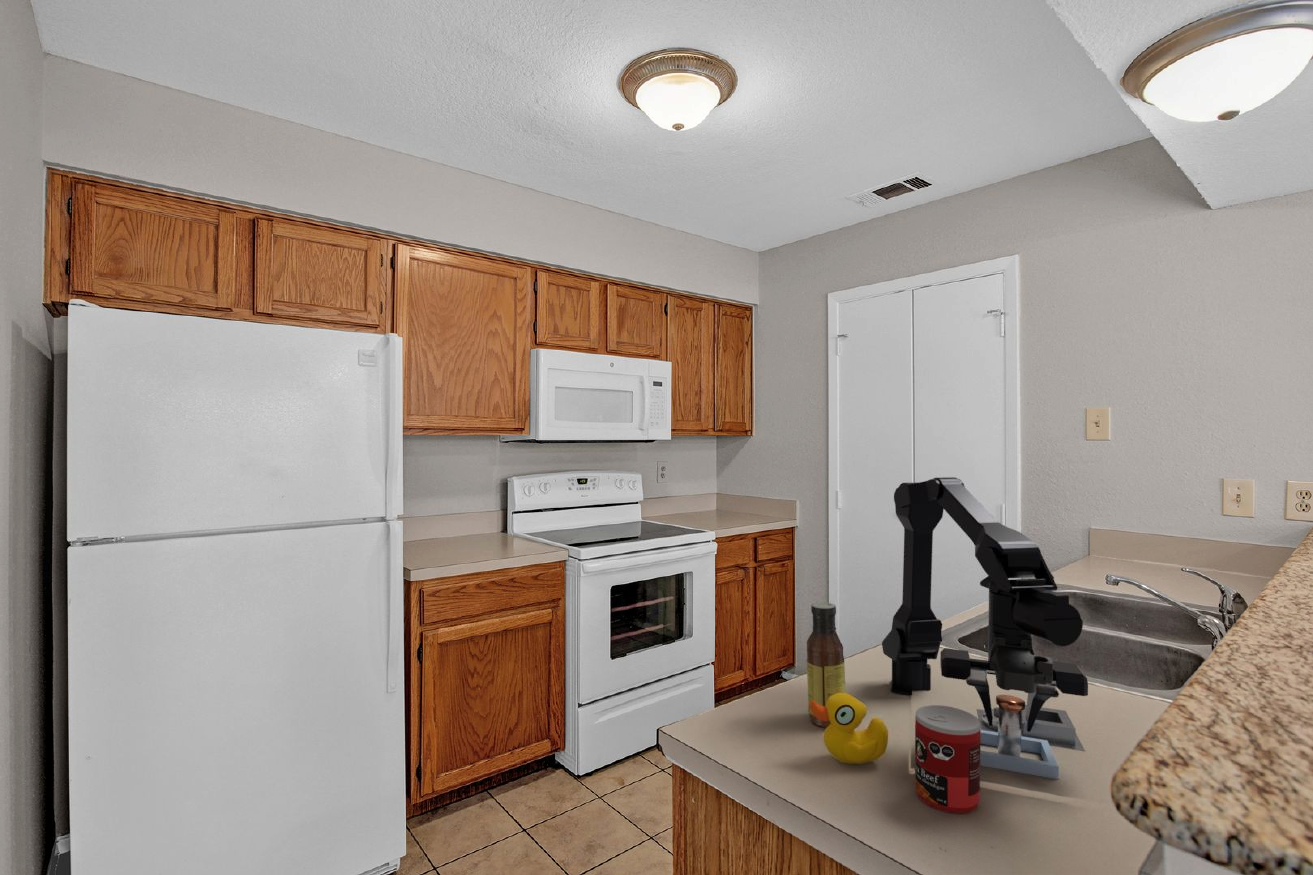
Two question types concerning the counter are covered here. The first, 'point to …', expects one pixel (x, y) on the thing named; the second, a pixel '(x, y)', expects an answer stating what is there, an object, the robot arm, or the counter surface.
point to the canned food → (947, 758)
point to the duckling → (850, 730)
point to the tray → (1018, 763)
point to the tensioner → (1041, 727)
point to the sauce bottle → (824, 659)
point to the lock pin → (1009, 724)
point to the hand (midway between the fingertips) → (1009, 727)
